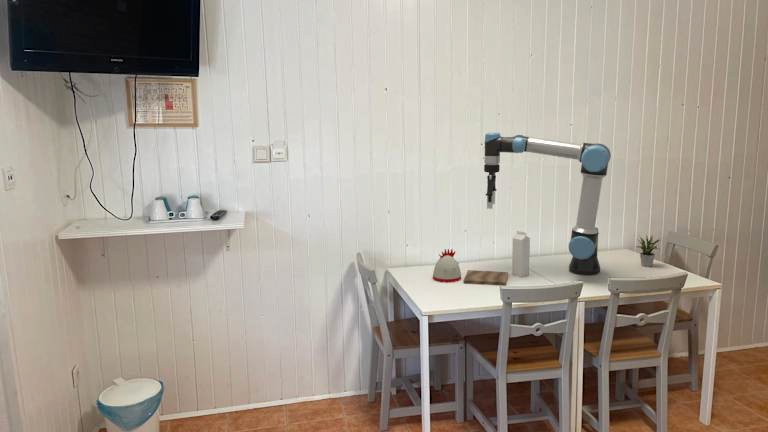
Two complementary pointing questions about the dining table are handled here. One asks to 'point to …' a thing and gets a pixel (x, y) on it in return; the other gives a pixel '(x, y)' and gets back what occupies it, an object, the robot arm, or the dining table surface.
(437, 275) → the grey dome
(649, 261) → the house plant
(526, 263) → the milk
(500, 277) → the walnut board
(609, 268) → the dining table surface
